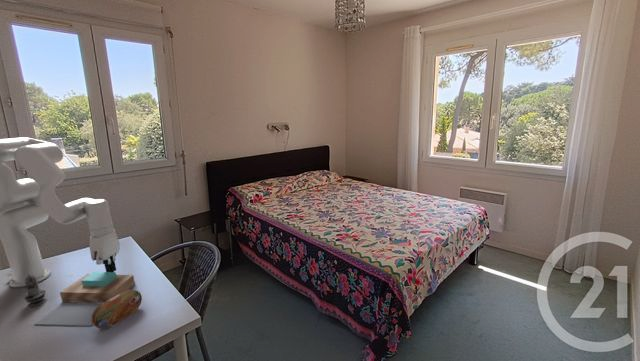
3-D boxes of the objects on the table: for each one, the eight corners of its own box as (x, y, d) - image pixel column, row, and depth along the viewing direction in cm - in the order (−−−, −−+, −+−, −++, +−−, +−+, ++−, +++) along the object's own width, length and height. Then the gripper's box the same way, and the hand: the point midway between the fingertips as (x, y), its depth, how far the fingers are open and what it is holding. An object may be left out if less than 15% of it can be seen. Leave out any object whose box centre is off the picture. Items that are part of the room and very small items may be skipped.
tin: (98, 335, 91) (92, 312, 89) (92, 332, 93) (87, 309, 91) (144, 306, 105) (140, 285, 103) (138, 304, 106) (134, 283, 104)
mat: (34, 324, 97) (34, 323, 96) (64, 303, 107) (64, 302, 107) (91, 326, 95) (90, 325, 95) (115, 304, 106) (115, 303, 106)
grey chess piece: (47, 295, 112) (39, 268, 109) (48, 302, 108) (39, 274, 105) (26, 303, 108) (17, 274, 105) (26, 310, 104) (16, 281, 101)
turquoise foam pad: (82, 286, 111) (81, 280, 110) (95, 277, 117) (94, 271, 116) (104, 286, 110) (103, 280, 110) (116, 277, 116) (115, 272, 115)
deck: (62, 301, 108) (59, 292, 107) (89, 282, 120) (86, 274, 119) (112, 302, 107) (110, 293, 106) (134, 283, 119) (133, 274, 118)
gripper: (107, 222, 122) (116, 261, 127) (76, 238, 108) (87, 281, 112) (124, 222, 122) (132, 262, 126) (96, 238, 107) (106, 281, 112)
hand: (111, 271), depth 119 cm, fingers closed
